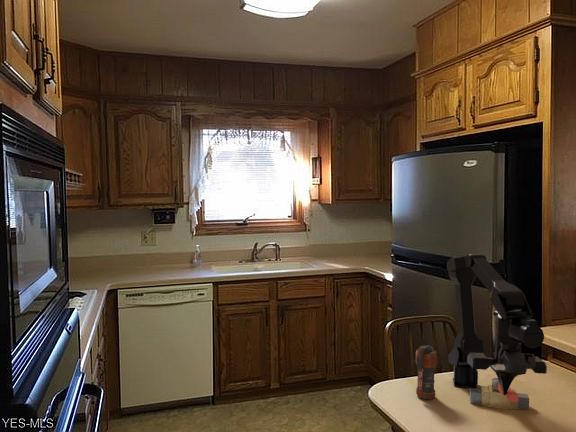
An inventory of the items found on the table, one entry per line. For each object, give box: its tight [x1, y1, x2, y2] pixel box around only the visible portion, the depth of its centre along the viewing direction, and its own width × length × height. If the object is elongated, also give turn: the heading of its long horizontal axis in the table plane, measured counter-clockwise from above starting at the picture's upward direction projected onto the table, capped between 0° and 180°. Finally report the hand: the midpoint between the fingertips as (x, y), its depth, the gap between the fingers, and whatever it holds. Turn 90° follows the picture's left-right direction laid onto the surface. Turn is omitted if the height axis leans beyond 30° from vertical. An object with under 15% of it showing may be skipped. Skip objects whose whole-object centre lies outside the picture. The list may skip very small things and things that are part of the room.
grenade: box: [415, 345, 438, 401], centre depth 139 cm, size 6×8×15 cm
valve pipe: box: [469, 384, 530, 411], centre depth 135 cm, size 15×5×4 cm, turn 74°
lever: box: [491, 377, 518, 402], centre depth 131 cm, size 11×4×2 cm, turn 1°
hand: (504, 394), depth 128 cm, fingers closed
